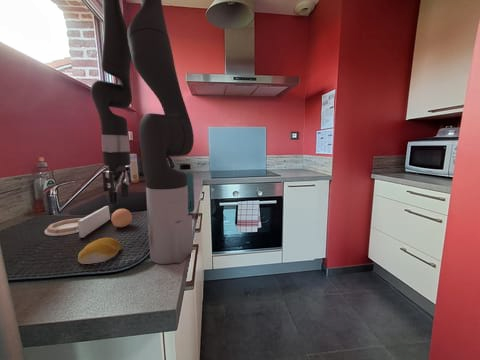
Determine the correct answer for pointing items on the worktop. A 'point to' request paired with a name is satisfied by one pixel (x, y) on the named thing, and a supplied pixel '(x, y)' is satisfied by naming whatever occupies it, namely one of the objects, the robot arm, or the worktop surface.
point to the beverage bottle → (189, 186)
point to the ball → (121, 217)
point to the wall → (93, 221)
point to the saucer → (63, 227)
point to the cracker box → (133, 168)
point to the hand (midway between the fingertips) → (120, 200)
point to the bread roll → (99, 251)
